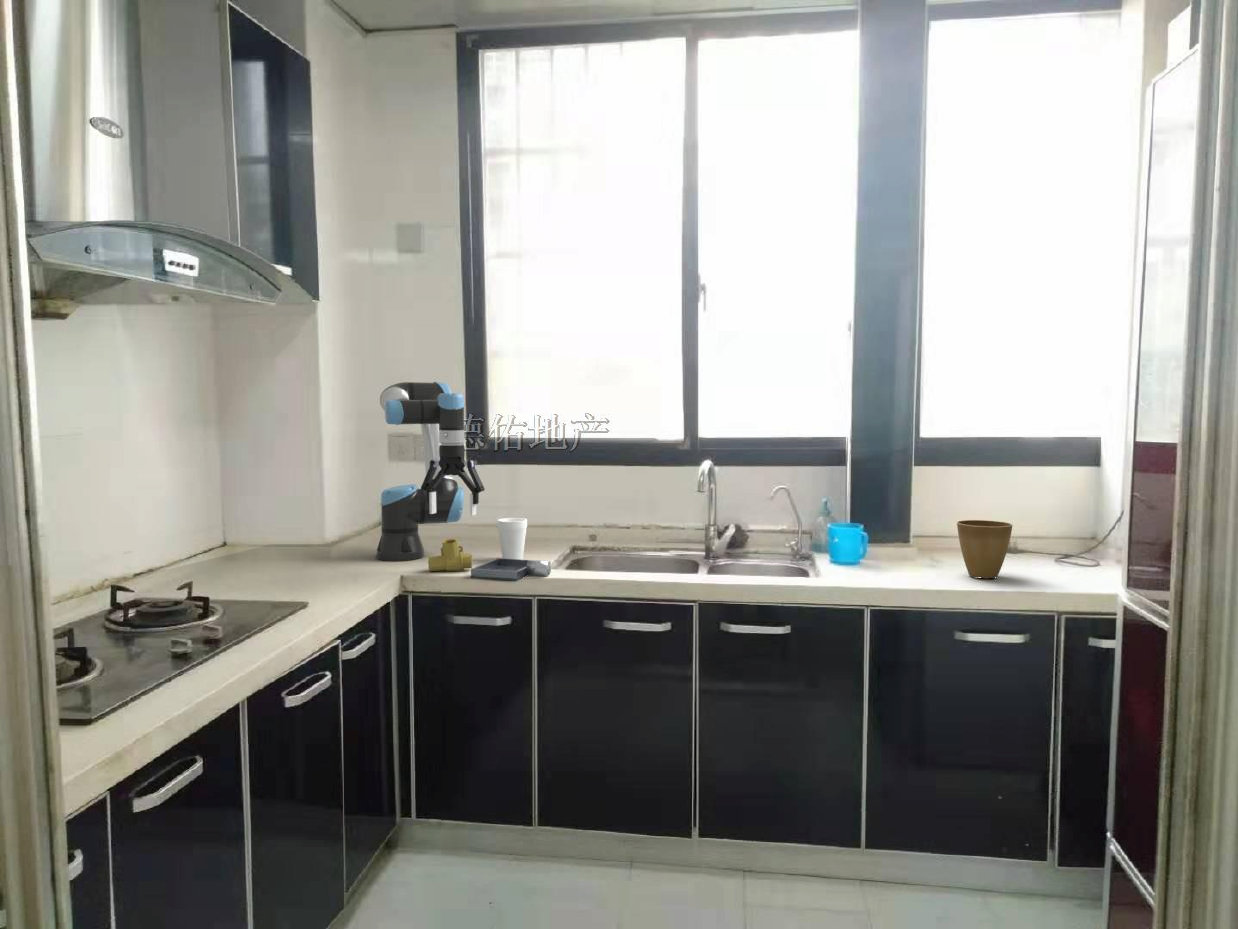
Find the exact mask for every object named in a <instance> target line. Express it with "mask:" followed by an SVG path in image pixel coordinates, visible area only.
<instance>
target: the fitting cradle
mask: <svg viewBox="0 0 1238 929" xmlns="http://www.w3.org/2000/svg"><path fill="white" fill-rule="evenodd" d="M551 570H552V565H551V561H550V560H540V559H539V560H538V559H523V560H521V559H505V558H502V557H497V558H494V559H492V560H489V561H486V562H484V563H482V564H480V565H478V566H475V567H472V568H470V578H472V579H487V580H499V581H500V580H502V581H513V582H518V581H519V580H522V579H524V578H525V576H526V577H528V576H539V575H540V576H541V577H549V576H550V574H551V572H552V571H551ZM527 575H528V576H527ZM548 575H549V576H548ZM523 577H524V578H523Z"/></svg>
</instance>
